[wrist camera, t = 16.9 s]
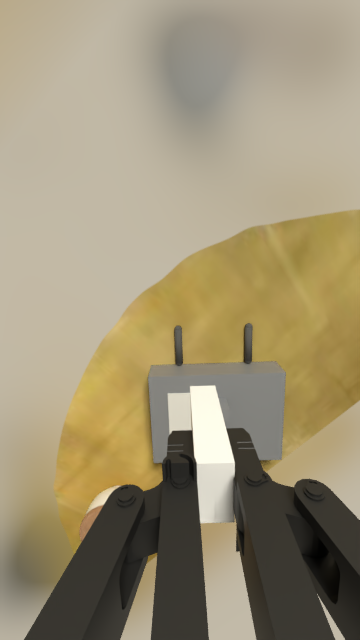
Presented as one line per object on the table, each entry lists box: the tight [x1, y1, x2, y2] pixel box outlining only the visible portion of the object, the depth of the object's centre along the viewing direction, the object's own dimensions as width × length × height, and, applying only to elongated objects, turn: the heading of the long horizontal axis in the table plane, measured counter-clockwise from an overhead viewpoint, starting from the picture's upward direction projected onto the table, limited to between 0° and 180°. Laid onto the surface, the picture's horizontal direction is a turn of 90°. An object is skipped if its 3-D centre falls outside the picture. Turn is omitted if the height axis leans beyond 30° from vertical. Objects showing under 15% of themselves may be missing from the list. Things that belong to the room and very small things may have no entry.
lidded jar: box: [80, 486, 120, 541], centre depth 53 cm, size 11×11×9 cm
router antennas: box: [175, 323, 252, 366], centre depth 50 cm, size 13×7×1 cm, turn 92°
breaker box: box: [148, 361, 286, 463], centre depth 49 cm, size 22×16×8 cm
